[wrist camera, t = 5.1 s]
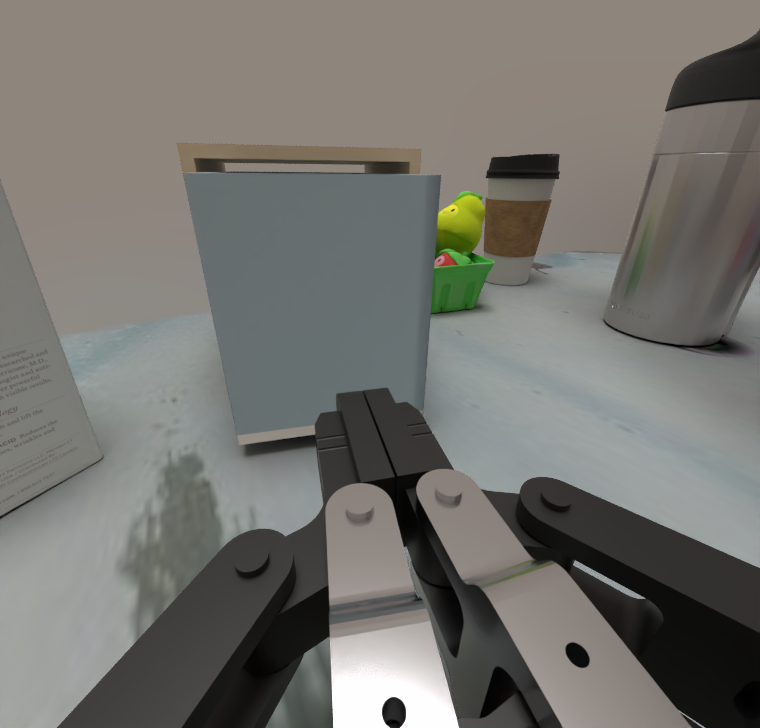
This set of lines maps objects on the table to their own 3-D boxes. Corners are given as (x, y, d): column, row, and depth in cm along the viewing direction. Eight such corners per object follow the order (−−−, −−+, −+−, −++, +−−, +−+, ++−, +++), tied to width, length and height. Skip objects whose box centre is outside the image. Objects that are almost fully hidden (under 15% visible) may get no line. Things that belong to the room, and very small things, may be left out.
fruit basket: (385, 289, 46) (386, 189, 41) (448, 283, 49) (457, 188, 44) (425, 319, 37) (434, 194, 32) (501, 310, 40) (520, 193, 34)
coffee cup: (550, 282, 50) (579, 153, 43) (510, 292, 46) (534, 150, 39) (500, 269, 56) (518, 155, 49) (460, 277, 52) (473, 153, 45)
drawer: (359, 312, 36) (357, 172, 31) (422, 419, 21) (440, 175, 15) (256, 319, 34) (233, 171, 28) (239, 445, 18) (182, 172, 13)
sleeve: (371, 319, 37) (371, 156, 30) (409, 377, 26) (421, 149, 20) (243, 329, 34) (213, 153, 28) (229, 398, 24) (176, 142, 17)
